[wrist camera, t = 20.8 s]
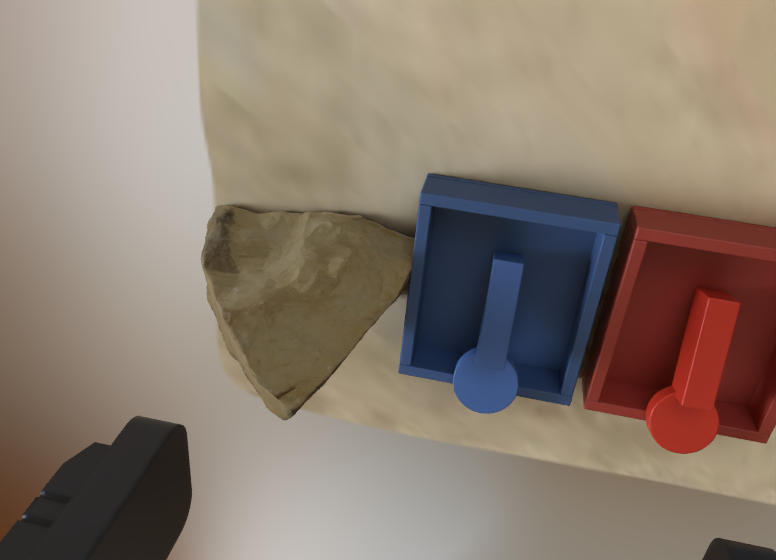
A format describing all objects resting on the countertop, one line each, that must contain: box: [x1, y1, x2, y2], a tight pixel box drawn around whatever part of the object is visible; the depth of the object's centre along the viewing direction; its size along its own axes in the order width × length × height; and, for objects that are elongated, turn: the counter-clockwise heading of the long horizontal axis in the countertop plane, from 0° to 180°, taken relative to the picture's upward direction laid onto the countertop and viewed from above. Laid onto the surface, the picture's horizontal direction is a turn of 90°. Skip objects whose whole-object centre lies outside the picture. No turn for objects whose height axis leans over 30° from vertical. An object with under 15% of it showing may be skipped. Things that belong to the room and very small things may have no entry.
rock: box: [201, 205, 415, 420], centre depth 34 cm, size 11×9×10 cm
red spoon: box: [646, 287, 741, 454], centre depth 33 cm, size 8×3×2 cm, turn 174°
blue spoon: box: [453, 251, 524, 414], centre depth 34 cm, size 8×3×2 cm, turn 174°
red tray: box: [582, 206, 776, 443], centre depth 34 cm, size 10×9×2 cm
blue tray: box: [399, 173, 621, 406], centre depth 35 cm, size 10×9×2 cm
